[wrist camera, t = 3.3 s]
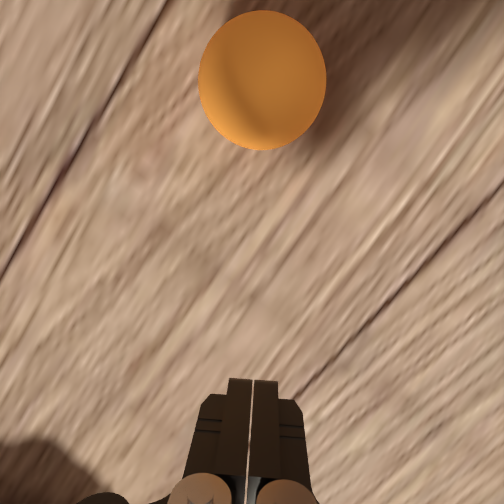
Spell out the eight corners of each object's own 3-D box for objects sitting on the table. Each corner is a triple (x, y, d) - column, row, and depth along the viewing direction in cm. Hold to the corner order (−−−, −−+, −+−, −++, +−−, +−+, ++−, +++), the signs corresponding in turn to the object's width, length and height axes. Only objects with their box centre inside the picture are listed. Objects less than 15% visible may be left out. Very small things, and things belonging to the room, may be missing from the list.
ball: (206, 144, 19) (186, 149, 14) (208, 25, 17) (187, -14, 12) (311, 149, 18) (328, 157, 14) (322, 31, 17) (346, -6, 12)
